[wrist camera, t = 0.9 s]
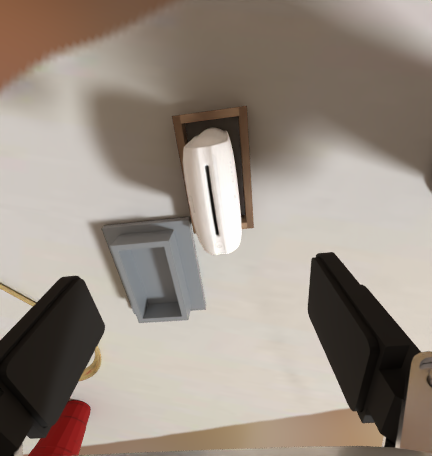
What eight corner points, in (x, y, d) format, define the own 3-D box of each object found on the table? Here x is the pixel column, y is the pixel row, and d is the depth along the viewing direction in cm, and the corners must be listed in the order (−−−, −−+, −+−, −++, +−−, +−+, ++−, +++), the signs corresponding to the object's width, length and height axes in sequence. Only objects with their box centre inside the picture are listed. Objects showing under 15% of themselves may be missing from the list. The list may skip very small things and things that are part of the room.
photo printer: (239, 208, 31) (247, 263, 20) (207, 212, 31) (197, 268, 20) (230, 124, 26) (234, 133, 15) (192, 130, 27) (169, 142, 15)
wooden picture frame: (244, 106, 25) (246, 105, 23) (251, 219, 31) (253, 227, 29) (176, 115, 26) (171, 116, 24) (196, 225, 32) (193, 233, 30)
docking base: (189, 216, 31) (184, 230, 28) (206, 305, 38) (204, 324, 35) (104, 225, 32) (89, 239, 29) (136, 309, 39) (127, 329, 36)
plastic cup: (87, 424, 57) (56, 495, 47) (47, 406, 54) (3, 478, 44) (111, 408, 54) (83, 482, 43) (69, 387, 51) (28, 462, 40)
